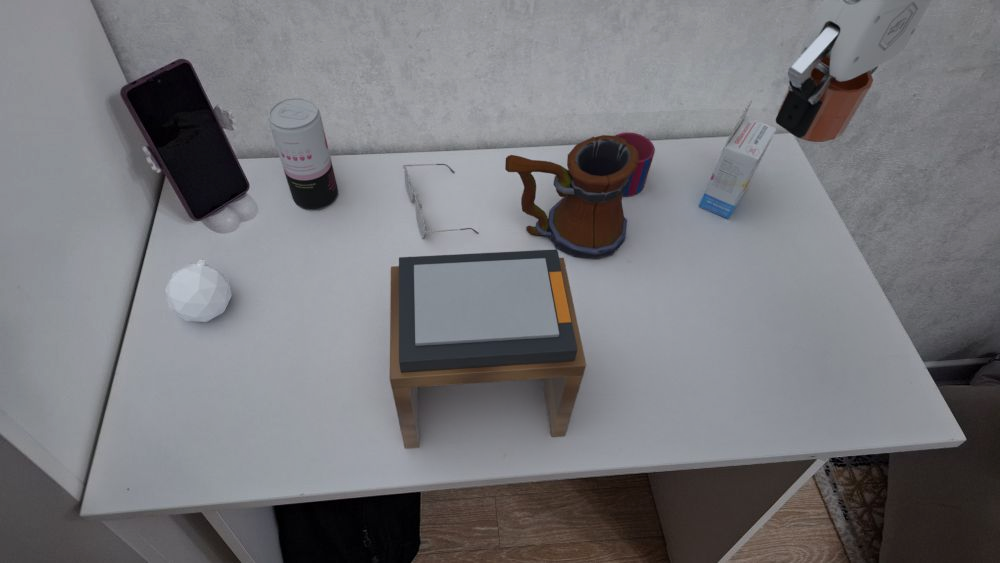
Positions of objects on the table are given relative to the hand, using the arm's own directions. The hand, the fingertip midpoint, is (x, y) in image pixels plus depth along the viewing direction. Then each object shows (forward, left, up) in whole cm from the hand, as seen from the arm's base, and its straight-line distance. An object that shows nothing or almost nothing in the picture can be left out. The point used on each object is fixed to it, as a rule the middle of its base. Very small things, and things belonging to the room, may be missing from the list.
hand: (813, 115), depth 61 cm
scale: (+6, +35, -12) cm, 38 cm away
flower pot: (0, 0, -1) cm, 1 cm away
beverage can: (+46, +37, -28) cm, 66 cm away
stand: (+6, +35, -28) cm, 46 cm away
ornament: (+35, +57, -29) cm, 73 cm away
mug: (+20, +11, -28) cm, 37 cm away
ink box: (+12, -14, -29) cm, 34 cm away
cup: (+24, -2, -28) cm, 37 cm away
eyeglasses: (+34, +23, -29) cm, 50 cm away
